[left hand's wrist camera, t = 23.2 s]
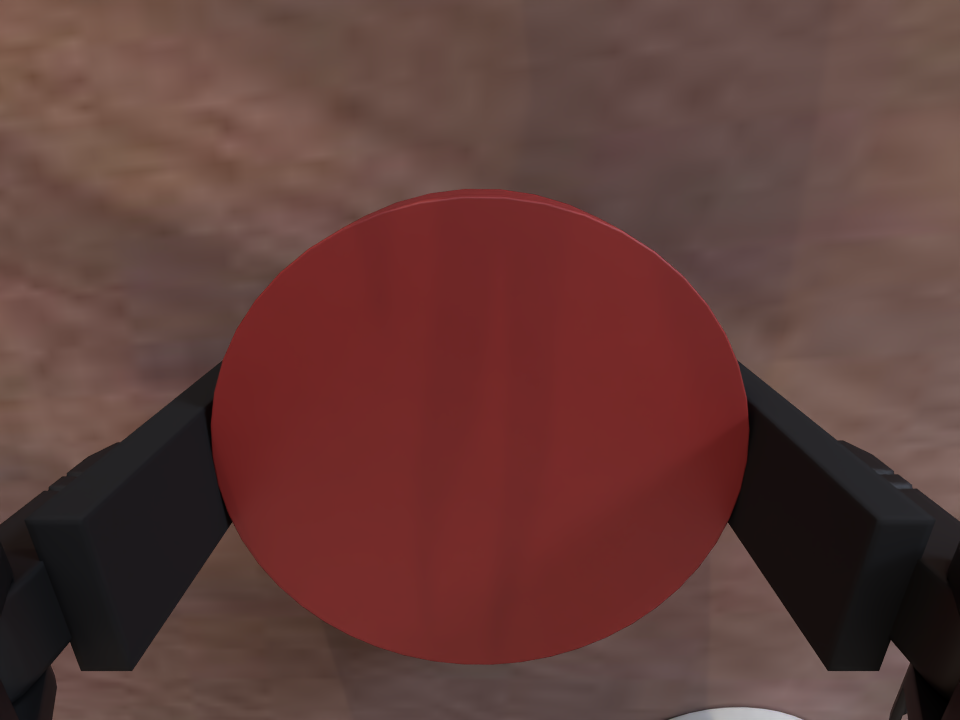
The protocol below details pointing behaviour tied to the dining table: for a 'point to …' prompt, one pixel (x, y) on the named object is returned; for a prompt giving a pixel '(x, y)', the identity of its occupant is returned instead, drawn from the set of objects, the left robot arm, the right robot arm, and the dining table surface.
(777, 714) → the jar
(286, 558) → the lid
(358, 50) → the dining table surface
